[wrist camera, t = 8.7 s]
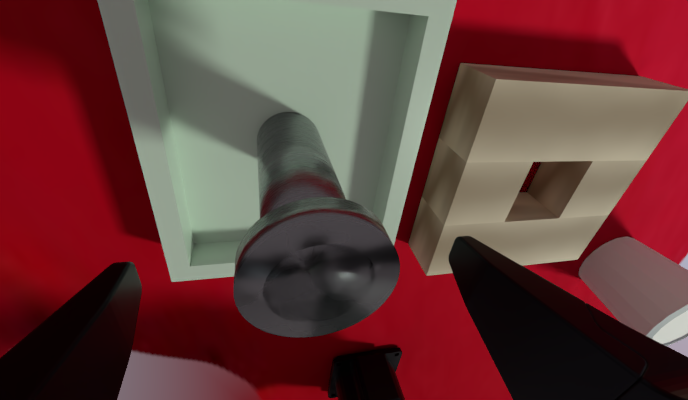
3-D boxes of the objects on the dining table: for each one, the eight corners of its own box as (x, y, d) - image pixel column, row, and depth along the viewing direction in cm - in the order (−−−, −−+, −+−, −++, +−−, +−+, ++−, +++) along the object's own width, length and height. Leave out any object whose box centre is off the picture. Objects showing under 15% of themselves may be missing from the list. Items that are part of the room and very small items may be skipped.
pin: (329, 180, 18) (384, 326, 10) (244, 182, 17) (239, 347, 9) (337, 98, 15) (416, 215, 8) (237, 94, 14) (225, 227, 7)
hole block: (547, 232, 26) (577, 259, 24) (408, 243, 23) (426, 275, 21) (639, 75, 19) (694, 91, 17) (460, 62, 16) (496, 79, 14)
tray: (376, 235, 22) (389, 262, 20) (179, 248, 19) (171, 281, 17) (430, -15, 14) (460, -12, 12) (110, -59, 11) (80, -64, 9)
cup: (582, 244, 28) (663, 313, 23) (653, 221, 29) (750, 283, 23) (565, 293, 32) (630, 361, 27) (627, 272, 33) (704, 334, 27)
